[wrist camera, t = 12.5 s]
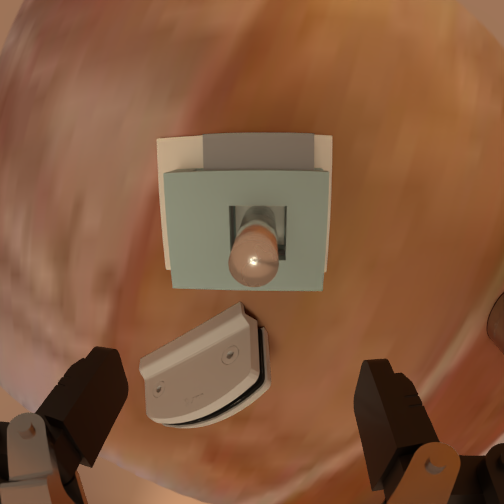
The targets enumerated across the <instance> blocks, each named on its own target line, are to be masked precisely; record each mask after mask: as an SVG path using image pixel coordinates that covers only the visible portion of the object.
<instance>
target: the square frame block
mask: <svg viewBox="0 0 504 504" xmlns="http://www.w3.org/2000/svg"><path fill="white" fill-rule="evenodd" d="M157 160H158V180H159V197H160V211H161V223H162V235H163V245H164V255H165V265H166V270H171V276H172V284H173V288H183V289H213V290H257V291H323V279H324V272H326V271H327V258H328V244H329V228H330V209H331V184H332V136H329V135H314V134H313V133H218V134H203V135H202V136H185V137H172V138H160V139H157ZM252 206H266V207H268V208H270V209H271V210H272V212H273V213H274V215H275V220H276V233H277V246H278V259H279V268H278V272H277V274H276V276H275V277H274V279H273V280H272V281H271V282H269V283H268V284H266V285H264V286H261V287H247V286H244V285H242V284H240V283H239V282H237V281H236V280H235V279H234V278H233V276H232V275H231V273H230V271H229V267H228V260H229V256H230V253H231V250H232V247H233V244H234V242H235V239H236V236H237V233H238V230H239V227H240V225H241V222H242V219H243V216H244V214H245V212H246V211H247V209H249V208H250V207H252Z"/></svg>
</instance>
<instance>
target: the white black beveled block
mask: <svg viewBox="0 0 504 504" xmlns="http://www.w3.org/2000/svg"><path fill="white" fill-rule="evenodd" d="M139 370H140V373H141V374H142V376H143V378H144V380H145V397H146V414H147V416H148V417H149V418H151V419H152V420H153V421H155V422H157V423H162V424H163V425H164V426H168V427H175V428H196V427H202V426H206V425H210V424H213V423H216V422H219V421H221V420H224V419H226V418H228V417H230V416H232V415H234V414H236V413H237V412H239V411H241V410H242V409H244V408H245V407H247V406H248V405H250V404H251V403H252V402H254V401H255V400H256V399H258V398H259V397H260V396H261V395H262V394H263V393H265V392H266V391H267V390H268V389H269V387H270V385H271V370H270V357H269V343H268V333H267V331H266V329H265V328H264V327H263V328H261V329H260V328H259V329H258V327H257V320H255V319H253V318H251V317H250V316H248V315H246V314H245V311H244V305H243V304H242V303H241V302H238V303H237V304H235V305H233V306H232V307H230V308H228V309H227V310H225V311H223V312H222V313H220V314H218V315H216V316H215V317H213V318H211V319H210V320H208V321H206V322H204V323H203V324H201V325H199V326H198V327H196V328H194V329H192V330H191V331H189V332H187V333H185V334H184V335H182V336H180V337H178V338H177V339H175V340H173V341H171V342H170V343H168V344H166V345H164V346H163V347H161V348H159V349H157V350H156V351H154V352H152V353H150V354H148V355H147V356H145V357H143V358H141V359H140V366H139Z"/></svg>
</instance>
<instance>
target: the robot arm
mask: <svg viewBox="0 0 504 504" xmlns="http://www.w3.org/2000/svg"><path fill="white" fill-rule="evenodd" d="M487 332H488V336H489V338H490V339H491V340H492V341H493V342H494V344H495V345H496V346H497V347H498V348H499V349H500V351H501V352H502V353H503V354H504V294H503V295H502V296H501V297H500V298H499V300H498V301H497V302H496V304H495V306H494V308H493V309H492V311H491V314H490V317H489V320H488V325H487ZM127 396H128V382H127V378H126V375H125V372H124V369H123V365H122V362H121V358H120V355H119V352H118V351H117V350H116V349H111V348H105V347H98V346H96V347H94V348H93V349H92V351H91V352H90V353H89V354H88V356H87V357H86V358H82V359H81V360H79V361H78V362H76V363H75V364H73V365H72V366H71V367H70V368H69V369H68V370H67V372H66V373H65V374H64V377H62V378H61V379H60V381H59V382H58V385H56V386H55V387H54V389H53V390H52V391H51V393H50V394H49V395H48V396H47V398H46V399H45V400H44V402H43V403H42V405H41V406H40V407H39V409H38V410H37V411H36V413H23V414H20V415H18V416H16V417H15V418H14V419H12V420H11V422H10V423H9V422H0V504H88V502H87V499H86V496H85V493H84V489H83V486H82V483H81V480H80V476H79V473H78V471H77V468H78V466H79V464H82V465H85V466H88V467H91V468H92V467H93V465H94V462H95V460H96V458H97V456H98V454H99V452H100V450H101V448H102V446H103V444H104V442H105V440H106V438H107V436H108V434H109V432H110V430H111V428H112V426H113V424H114V422H115V420H116V418H117V416H118V414H119V413H120V411H121V409H122V407H123V405H124V403H125V401H126V399H127ZM354 412H355V417H356V421H357V425H358V429H359V433H360V438H361V442H362V447H363V451H364V456H365V460H366V465H367V469H368V474H369V479H370V484H371V489H372V491H377V490H383V489H384V493H385V499H384V500H383V502H382V503H381V504H504V443H501V444H497V445H495V446H493V447H492V448H491V449H490V450H489V452H488V453H487V454H486V456H462V455H458V453H457V452H456V451H455V449H453V448H452V447H451V446H449V445H447V444H445V443H441V442H440V441H439V439H438V437H437V435H436V433H435V430H434V428H433V426H432V423H431V421H430V419H429V417H428V415H427V412H426V410H425V408H424V406H422V401H421V399H420V397H419V396H418V393H417V391H416V389H415V387H414V385H413V383H412V382H411V381H410V380H409V379H408V378H407V377H406V376H405V375H404V374H403V373H394V372H393V369H392V367H391V365H390V363H389V361H388V360H387V359H373V360H364V361H363V363H362V366H361V370H360V374H359V378H358V382H357V386H356V390H355V394H354Z"/></svg>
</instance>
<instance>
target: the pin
mask: <svg viewBox="0 0 504 504" xmlns="http://www.w3.org/2000/svg"><path fill="white" fill-rule="evenodd" d="M228 267H229V271H230V273H231V275H232V276H233V278H234V279H235V280H236V281H237V282H239V283H240V284H242V285H244V286H247V287H261V286H264V285H266V284H268V283H269V282H271V281H272V280H273V279H274V277H275V276H276V274H277V272H278V268H279V259H278V246H277V233H276V220H275V215H274V213H273V212H272V210H271V209H270V208H268V207H266V206H252V207H250V208H249V209H247V211H246V212H245V214H244V216H243V219H242V222H241V225H240V227H239V230H238V233H237V236H236V239H235V242H234V244H233V247H232V250H231V253H230V256H229V260H228Z"/></svg>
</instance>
